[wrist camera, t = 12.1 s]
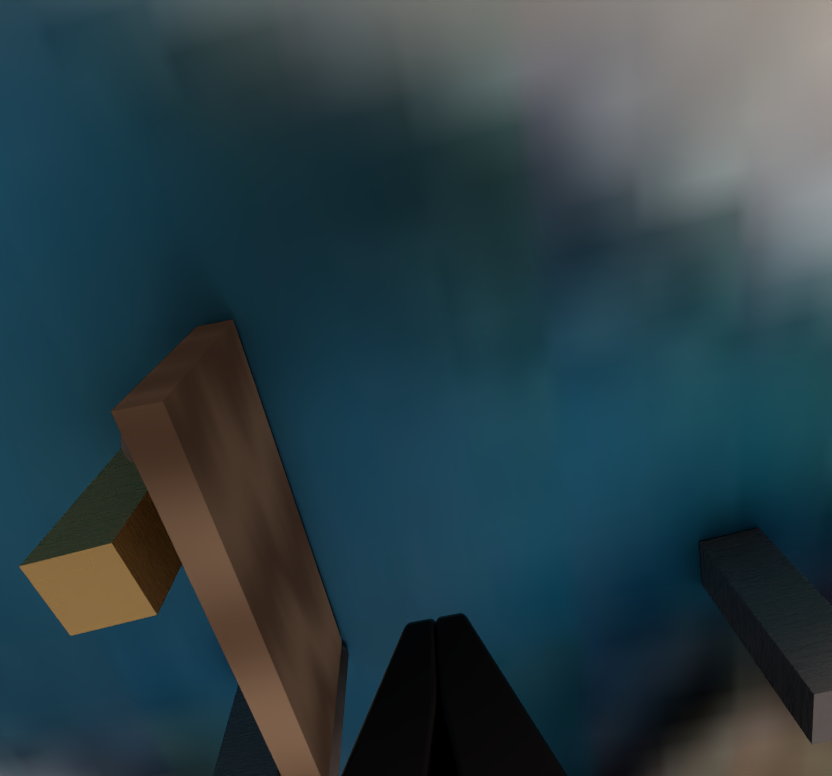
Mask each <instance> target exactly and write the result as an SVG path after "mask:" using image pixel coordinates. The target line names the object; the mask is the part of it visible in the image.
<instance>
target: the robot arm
mask: <svg viewBox="0 0 832 776" xmlns="http://www.w3.org/2000/svg"><path fill="white" fill-rule="evenodd" d="M341 776H567V774H566V773H565V771H564V770H563V768H562V767H561V765H560V763H559V762H558V760H557V759H556V757H555V755H554V754H553V752H552V751H551V749H550V748H549V746H548V744H547V743H546V741H545V740H544V738H543V737H542V735H541V733H540V732H539V730H538V729H537V727H536V725H535V724H534V722H533V721H532V719H531V718H530V716H529V714H528V713H527V711H526V710H525V708H524V706H523V705H522V703H521V702H520V700H519V699H518V697H517V695H516V694H515V692H514V691H513V689H512V687H511V686H510V684H509V683H508V681H507V680H506V678H505V676H504V675H503V673H502V672H501V670H500V669H499V667H498V665H497V664H496V662H495V661H494V659H493V657H492V656H491V654H490V653H489V651H488V650H487V648H486V646H485V645H484V643H483V642H482V640H481V638H480V637H479V635H478V634H477V632H476V631H475V629H474V627H473V626H472V624H471V623H470V621H469V620H468V618H467V617H466V615H464V614H463V613H458V614H453V615H447V616H442V617H439V618H438V619H437V621H436V622H435V620H433V619H426V620H421V621H415V622H410V623H408V624H407V625H406V626H405V628H404V630H403V632H402V635H401V637H400V639H399V642H398V644H397V646H396V649H395V651H394V653H393V656H392V658H391V660H390V663H389V665H388V667H387V670H386V672H385V674H384V677H383V679H382V681H381V684H380V686H379V689H378V691H377V693H376V696H375V698H374V700H373V703H372V705H371V707H370V710H369V712H368V714H367V717H366V719H365V721H364V724H363V726H362V728H361V731H360V733H359V735H358V738H357V740H356V742H355V745H354V747H353V749H352V752H351V754H350V756H349V759H348V761H347V763H346V766H345V768H344V770H343V773H342V775H341Z"/></svg>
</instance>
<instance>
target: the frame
mask: <svg viewBox="0 0 832 776" xmlns="http://www.w3.org/2000/svg"><path fill="white" fill-rule="evenodd" d="M699 546H700V560H701V574H702V585H703V587H704V588H705V590H706V591H707V593H708V594H709V596H710V597H711V598H712V600H713V601H714V603H715V604H716V606H717V607H718V609H719V610H720V612H721V613H722V614H723V616H724V617H725V619H726V620H727V622H728V623H729V625H730V626H731V627H732V629H733V630H734V632H735V633H736V635H737V636H738V638H739V639H740V641H741V642H742V643H743V645H744V646H745V648H746V649H747V651H748V652H749V654H750V655H751V657H752V658H753V659H754V661H755V662H756V664H757V665H758V667H759V668H760V670H761V671H762V673H763V674H764V675H765V677H766V678H767V680H768V681H769V683H770V684H771V686H772V687H773V689H774V690H775V691H776V693H777V694H778V696H779V697H780V699H781V700H782V702H783V703H784V705H785V706H786V707H787V709H788V710H789V712H790V713H791V715H792V716H793V718H794V719H795V721H796V722H797V723H798V725H799V726H800V728H801V729H802V731H803V732H804V734H805V735H806V737H807V738H808V739H809V741H810V742H811V744H816V743H821V742H826V741H831V740H832V606H831V605H830V604H829V603H828V602H827V601H826V599H825V598H824V597H823V596H822V595H821V594H820V593H819V592H818V591H817V590H816V589H815V588H814V587H813V586H812V584H811V583H810V582H809V581H808V580H807V579H806V578H805V577H804V576H803V575H802V574H801V573H800V572H799V570H798V569H797V568H796V567H795V566H794V565H793V564H792V563H791V562H790V561H789V560H788V559H787V558H786V557H785V555H784V554H783V553H782V552H781V551H780V550H779V549H778V548H777V547H776V546H775V545H774V544H773V543H772V541H771V540H770V539H769V538H768V537H767V536H766V535H765V534H764V533H763V532H762V531H761V530H760V529H759V528H756V529H752V530H748V531H744V532H739V533H735V534H731V535H726V536H722V537H718V538H714V539H709V540H705V541H701V542H699ZM181 565H182V562H181V560H180V558H179V556H178V554H177V552H176V550H175V548H174V545H173V543H172V541H171V539H170V537H169V535H168V533H167V530H166V528H165V526H164V524H163V522H162V520H161V518H160V516H159V513H158V511H157V509H156V507H155V505H154V503H153V501H152V498H151V496H150V494H149V492H148V490H147V488H146V486H145V483H144V481H143V479H142V477H141V475H140V473H139V471H138V469H137V466H136V464H135V463H133V462H130V461H129V460H128V459H127V458H126V457H125V455H124V453H123V451H122V448H121V449H120V450H119V451H118V452H117V453H116V455H115V456H114V457H113V458H112V459H111V460H110V462H109V463H108V464H107V465H106V466H105V467H104V469H103V470H102V471H101V472H100V473H99V474H98V476H97V477H96V478H95V479H94V480H93V481H92V483H91V484H90V485H89V486H88V487H87V488H86V490H85V491H84V492H83V493H82V494H81V495H80V496H79V498H78V499H77V500H76V501H75V502H74V503H73V505H72V506H71V507H70V508H69V509H68V510H67V512H66V513H65V514H64V515H63V516H62V517H61V519H60V520H59V521H58V522H57V523H56V524H55V526H54V527H53V528H52V529H51V530H50V531H49V533H48V534H47V535H46V536H45V537H44V538H43V540H42V541H41V542H40V543H39V544H38V545H37V546H36V548H35V549H34V550H33V551H32V552H31V553H30V555H29V556H28V557H27V558H26V559H25V560H24V562H23V563H22V564H21V565H20V566H19V567H20V568H21V569H22V571H23V572H24V574H25V575H26V576H27V578H28V579H29V580H30V582H31V583H32V584H33V586H34V587H35V588H36V590H37V591H38V592H39V594H40V595H41V597H42V598H43V599H44V601H45V602H46V603H47V605H48V606H49V607H50V609H51V610H52V611H53V613H54V614H55V615H56V617H57V618H58V619H59V621H60V622H61V624H62V625H63V626H64V628H65V629H66V630H67V632H68V633H69V634H70V636H72V635H76V634H80V633H84V632H88V631H92V630H97V629H101V628H105V627H109V626H113V625H117V624H121V623H126V622H130V621H134V620H138V619H142V618H146V617H150V616H155V615H157V614H158V612H159V610H160V608H161V606H162V604H163V602H164V600H165V598H166V596H167V594H168V592H169V590H170V588H171V585H172V583H173V581H174V579H175V577H176V575H177V573H178V571H179V569H180V567H181ZM213 776H281V774H280V772H279V770H278V767H277V765H276V763H275V761H274V759H273V757H272V755H271V752H270V750H269V748H268V746H267V744H266V742H265V740H264V738H263V735H262V733H261V731H260V729H259V727H258V725H257V723H256V720H255V718H254V716H253V714H252V712H251V710H250V708H249V705H248V703H247V701H246V699H245V697H244V695H243V693H242V691H241V688H240V686H239V684H238V688H237V691H236V695H235V698H234V702H233V706H232V709H231V713H230V716H229V720H228V723H227V727H226V731H225V734H224V738H223V741H222V745H221V749H220V752H219V756H218V759H217V763H216V767H215V770H214V774H213Z"/></svg>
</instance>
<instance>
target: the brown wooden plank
mask: <svg viewBox="0 0 832 776" xmlns="http://www.w3.org/2000/svg"><path fill="white" fill-rule="evenodd" d="M111 413H112V415H113V417H114V419H115V422H116V424H117V426H118V428H119V430H120V432H121V447H122V451H123V453H124V455H125V457H126V458H127V459H128V460H129V461H130V462H133V463H135V464H136V466H137V469H138V471H139V473H140V475H141V477H142V479H143V481H144V483H145V486H146V488H147V490H148V492H149V494H150V496H151V498H152V501H153V503H154V505H155V507H156V509H157V511H158V513H159V516H160V518H161V520H162V522H163V524H164V526H165V528H166V530H167V533H168V535H169V537H170V539H171V541H172V543H173V545H174V548H175V550H176V552H177V554H178V556H179V558H180V560H181V562H182V565H183V567H184V569H185V571H186V573H187V575H188V577H189V580H190V582H191V584H192V586H193V588H194V590H195V592H196V594H197V597H198V599H199V601H200V603H201V605H202V607H203V609H204V612H205V614H206V616H207V618H208V620H209V622H210V624H211V627H212V629H213V631H214V633H215V635H216V637H217V639H218V641H219V644H220V646H221V648H222V650H223V652H224V654H225V656H226V659H227V661H228V663H229V665H230V667H231V669H232V671H233V673H234V676H235V678H236V680H237V682H238V684H239V686H240V688H241V691H242V693H243V695H244V697H245V699H246V701H247V703H248V705H249V708H250V710H251V712H252V714H253V716H254V718H255V720H256V723H257V725H258V727H259V729H260V731H261V733H262V735H263V738H264V740H265V742H266V744H267V746H268V748H269V750H270V752H271V755H272V757H273V759H274V761H275V763H276V765H277V767H278V770H279V772H280V774H281V776H339V764H340V752H341V740H342V728H343V716H344V704H345V692H346V680H347V667H348V655H349V654H348V651H347V649H346V648H345V647H344V646H342V640H341V637H340V634H339V631H338V628H337V625H336V622H335V619H334V616H333V613H332V610H331V607H330V604H329V601H328V598H327V595H326V592H325V589H324V586H323V584H322V581H321V578H320V575H319V572H318V569H317V566H316V563H315V560H314V557H313V554H312V551H311V548H310V545H309V542H308V539H307V536H306V533H305V530H304V528H303V525H302V522H301V519H300V516H299V513H298V510H297V507H296V504H295V501H294V498H293V495H292V492H291V489H290V486H289V483H288V480H287V477H286V474H285V471H284V469H283V466H282V463H281V460H280V457H279V454H278V451H277V448H276V445H275V442H274V439H273V436H272V433H271V430H270V427H269V424H268V421H267V418H266V415H265V413H264V410H263V407H262V404H261V401H260V398H259V395H258V392H257V389H256V386H255V383H254V380H253V377H252V374H251V371H250V368H249V365H248V362H247V359H246V356H245V354H244V351H243V348H242V345H241V342H240V339H239V336H238V333H237V330H236V327H235V324H234V321H233V320H228V321H223V322H217V323H212V324H207V325H202V326H197V327H196V328H195V329H194V330H193V331H192V332H191V333H190V334H189V335H188V336H187V337H185V338H184V339H183V340H182V341H181V342H180V343H179V344H178V345H177V346H176V347H175V348H174V349H173V350H172V351H171V352H170V353H169V354H168V355H167V356H166V357H165V358H164V359H163V360H162V361H161V362H160V363H159V364H158V365H157V366H156V367H155V368H154V369H153V370H152V371H151V372H150V373H149V374H148V375H147V376H146V377H145V378H144V379H143V380H142V381H141V382H140V383H139V384H138V385H137V386H136V387H135V388H134V389H133V390H132V391H131V392H130V393H129V394H128V395H127V396H126V397H125V398H124V399H123V400H122V401H121V402H120V403H119V404H118V405H117V406H116V407H115V408H114V409H113V410H112V411H111Z"/></svg>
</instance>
